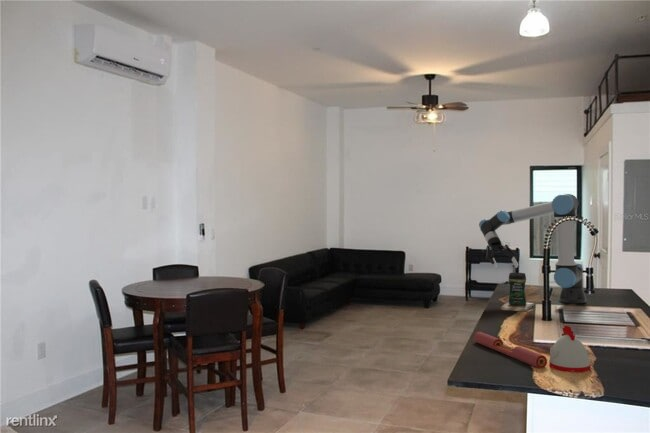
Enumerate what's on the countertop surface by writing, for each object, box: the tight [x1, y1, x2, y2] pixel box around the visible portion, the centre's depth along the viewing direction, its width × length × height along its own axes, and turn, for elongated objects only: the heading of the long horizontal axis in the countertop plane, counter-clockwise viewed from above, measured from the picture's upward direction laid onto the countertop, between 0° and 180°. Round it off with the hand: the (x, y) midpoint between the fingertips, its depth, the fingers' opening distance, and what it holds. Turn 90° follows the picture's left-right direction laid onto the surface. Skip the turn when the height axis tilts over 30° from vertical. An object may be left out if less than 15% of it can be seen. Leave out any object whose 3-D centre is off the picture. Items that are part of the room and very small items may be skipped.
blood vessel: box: [473, 331, 548, 369], centre depth 227 cm, size 42×5×5 cm, turn 17°
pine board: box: [500, 301, 535, 312], centre depth 324 cm, size 14×20×2 cm
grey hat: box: [548, 325, 591, 373], centre depth 208 cm, size 14×14×15 cm
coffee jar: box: [508, 272, 527, 306], centre depth 324 cm, size 10×8×19 cm
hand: (507, 267), depth 333 cm, fingers open, 13 cm apart
